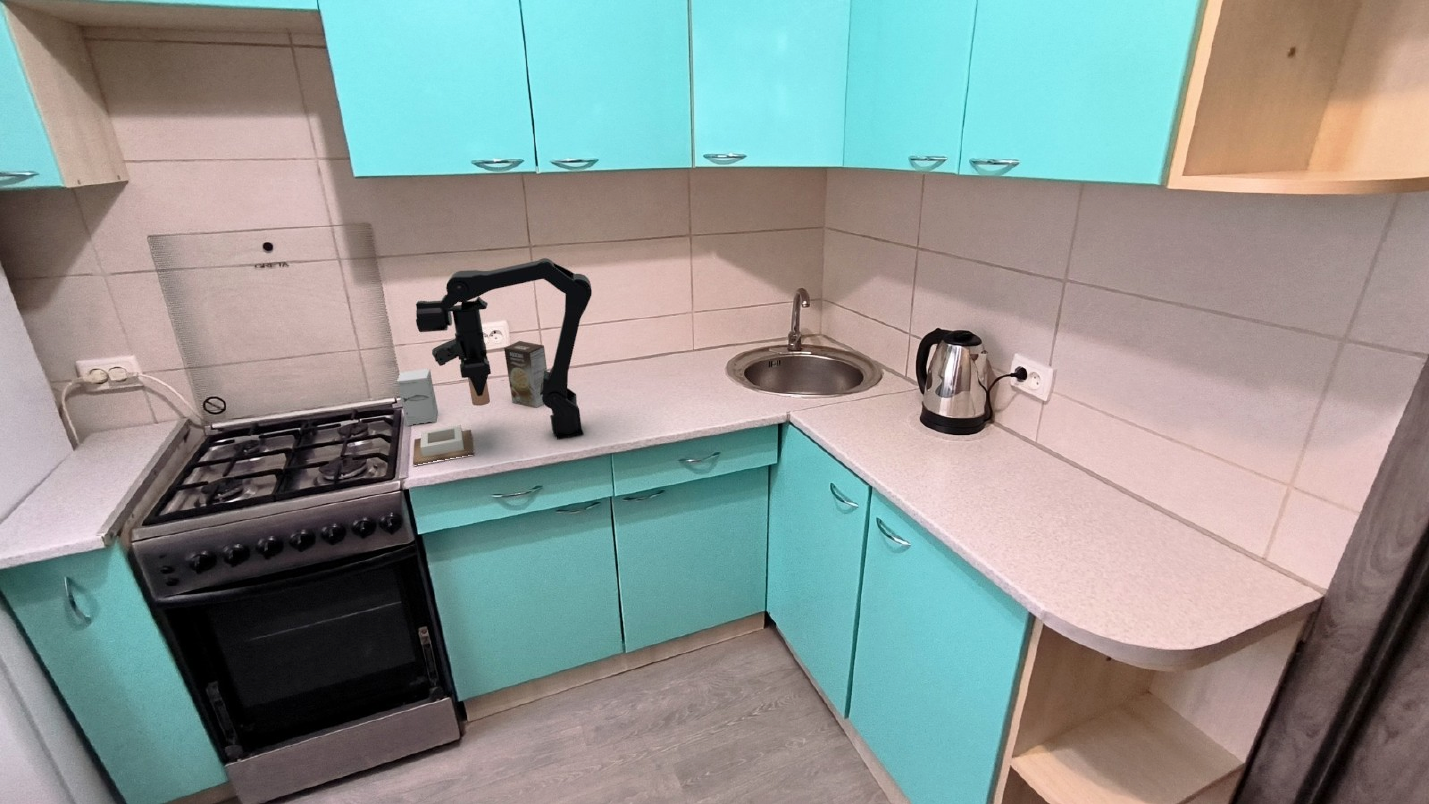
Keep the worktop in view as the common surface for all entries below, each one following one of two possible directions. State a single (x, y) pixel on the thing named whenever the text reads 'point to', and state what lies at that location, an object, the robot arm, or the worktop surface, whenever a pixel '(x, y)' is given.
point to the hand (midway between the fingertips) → (479, 392)
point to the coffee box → (526, 372)
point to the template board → (442, 445)
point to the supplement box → (417, 396)
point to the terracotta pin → (479, 399)
